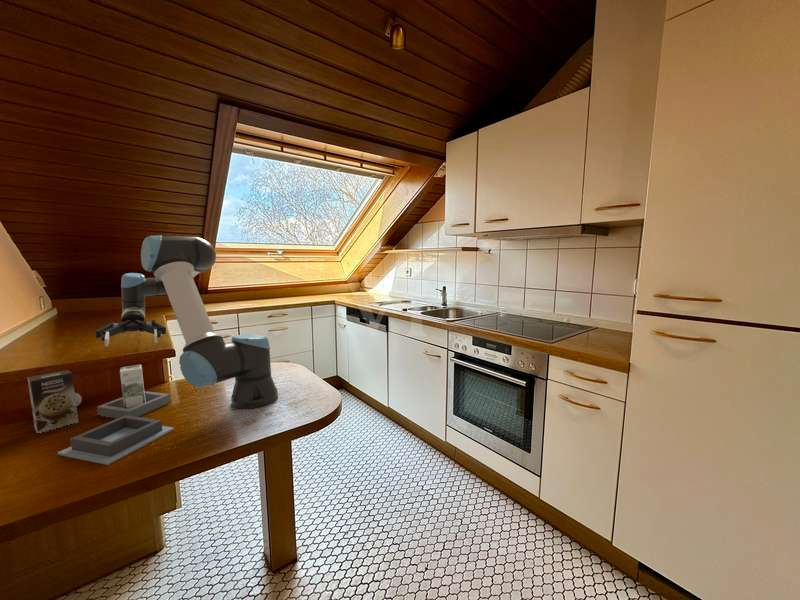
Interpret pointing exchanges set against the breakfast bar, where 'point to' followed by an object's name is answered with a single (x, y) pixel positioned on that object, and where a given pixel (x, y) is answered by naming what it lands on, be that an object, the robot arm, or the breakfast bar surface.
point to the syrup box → (132, 386)
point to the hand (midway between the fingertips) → (131, 341)
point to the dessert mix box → (52, 400)
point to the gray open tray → (117, 410)
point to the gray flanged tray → (115, 439)
